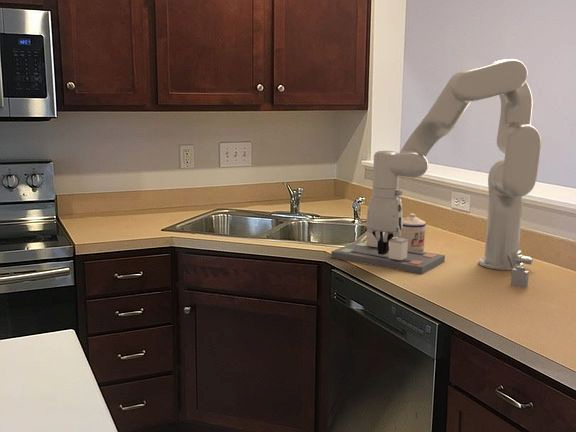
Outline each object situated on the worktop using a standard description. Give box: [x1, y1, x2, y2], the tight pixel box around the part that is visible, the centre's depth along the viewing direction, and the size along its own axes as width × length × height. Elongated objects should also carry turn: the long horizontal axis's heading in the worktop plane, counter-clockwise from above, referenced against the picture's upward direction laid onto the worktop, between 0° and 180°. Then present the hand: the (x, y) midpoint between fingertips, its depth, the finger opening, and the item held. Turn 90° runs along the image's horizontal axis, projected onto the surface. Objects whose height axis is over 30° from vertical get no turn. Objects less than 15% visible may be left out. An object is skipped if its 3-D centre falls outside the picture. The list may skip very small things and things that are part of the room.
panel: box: [330, 241, 446, 275], centre depth 201 cm, size 30×17×2 cm, turn 55°
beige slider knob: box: [389, 237, 408, 260], centre depth 193 cm, size 4×4×6 cm
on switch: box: [365, 231, 384, 247], centre depth 208 cm, size 4×4×6 cm
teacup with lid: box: [397, 213, 427, 252], centre depth 215 cm, size 12×9×12 cm
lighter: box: [502, 254, 530, 289], centre depth 176 cm, size 7×2×8 cm, turn 49°
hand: (382, 253), depth 196 cm, fingers closed
